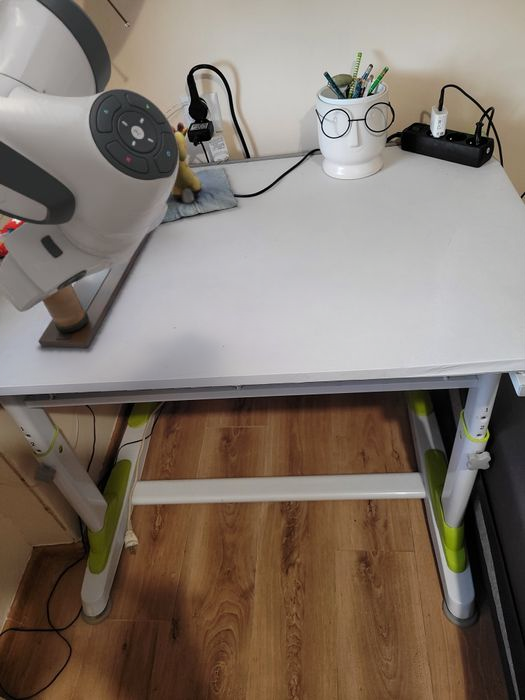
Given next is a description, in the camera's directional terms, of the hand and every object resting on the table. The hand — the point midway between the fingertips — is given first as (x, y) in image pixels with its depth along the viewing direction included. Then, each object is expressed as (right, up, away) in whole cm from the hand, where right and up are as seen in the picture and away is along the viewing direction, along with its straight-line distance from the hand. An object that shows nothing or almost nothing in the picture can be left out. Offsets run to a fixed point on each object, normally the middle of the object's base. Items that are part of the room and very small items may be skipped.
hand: (79, 269), depth 63 cm
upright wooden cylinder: (-7, -6, +17) cm, 20 cm away
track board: (-5, +4, +28) cm, 29 cm away
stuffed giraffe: (+8, +23, +45) cm, 51 cm away
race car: (-26, +12, +40) cm, 49 cm away
